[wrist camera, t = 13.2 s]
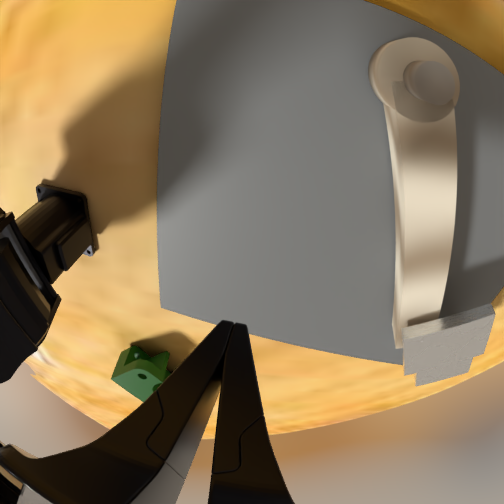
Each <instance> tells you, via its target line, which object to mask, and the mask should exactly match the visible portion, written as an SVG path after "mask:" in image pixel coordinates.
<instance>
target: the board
mask: <svg viewBox="0 0 504 504" xmlns="http://www.w3.org/2000/svg"><path fill="white" fill-rule="evenodd" d="M408 37H417V38H422V39H426V40H428V41H431V42H433V43H434V44H436V45H437V46H439V47H440V48H441V49H442V50H444V51H445V52H446V54H447V55H448V56H449V57H450V59H451V60H452V62H453V63H454V65H455V67H456V70H457V73H458V76H459V82H460V93H459V98H458V101H457V103H456V106H455V107H454V112H455V123H456V139H457V197H456V213H455V225H454V235H453V243H452V251H451V258H450V264H449V270H448V276H447V282H446V287H445V292H444V297H443V301H442V306H441V310H440V314H439V318H438V319H440V318H444V317H447V316H451V315H454V314H458V313H461V312H464V311H468V310H471V309H474V308H477V307H480V306H483V305H486V304H489V303H491V302H492V301H493V300H494V298H495V297H496V296H497V295H498V293H499V292H500V291H501V289H502V288H503V287H504V75H503V74H502V73H501V72H499V71H498V70H497V69H495V68H494V67H493V66H491V65H490V64H488V63H487V62H486V61H484V60H483V59H481V58H480V57H478V56H477V55H475V54H474V53H472V52H471V51H469V50H468V49H466V48H464V47H463V46H461V45H459V44H458V43H456V42H454V41H453V40H451V39H449V38H447V37H446V36H444V35H442V34H440V33H438V32H436V31H434V30H433V29H431V28H429V27H427V26H425V25H423V24H421V23H418V22H416V21H414V20H412V19H410V18H408V17H405V16H403V15H401V14H398V13H396V12H394V11H391V10H389V9H386V8H383V7H381V6H378V5H375V4H373V3H370V2H367V1H364V0H177V1H176V6H175V11H174V17H173V22H172V28H171V34H170V40H169V46H168V53H167V61H166V68H165V76H164V85H163V95H162V105H161V117H160V131H159V148H158V173H157V245H158V270H159V288H160V302H161V308H164V309H167V310H170V311H173V312H176V313H179V314H182V315H186V316H189V317H192V318H195V319H199V320H202V321H205V322H209V323H212V324H216V325H217V324H218V323H219V322H220V321H221V320H228V321H232V322H234V323H236V322H238V323H243V324H246V325H247V327H248V333H249V334H252V335H256V336H260V337H264V338H268V339H272V340H276V341H280V342H284V343H288V344H293V345H297V346H302V347H306V348H311V349H315V350H320V351H325V352H330V353H335V354H340V355H345V356H351V357H356V358H362V359H367V360H373V361H379V362H386V363H392V364H399V365H403V349H402V348H398V349H396V347H395V340H394V334H393V327H392V318H393V305H394V289H395V261H396V230H395V202H394V186H393V174H392V163H391V154H390V145H389V137H388V130H387V124H386V117H385V111H384V105H383V103H382V102H381V101H380V100H379V98H378V97H377V96H376V94H375V93H374V91H373V89H372V87H371V85H370V82H369V77H368V65H369V61H370V59H371V56H372V55H373V53H374V52H375V51H376V49H378V48H379V47H380V46H381V45H383V44H385V43H388V42H391V41H395V40H399V39H403V38H408Z"/></svg>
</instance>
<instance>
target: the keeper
mask: <svg viewBox="0 0 504 504" xmlns="http://www.w3.org/2000/svg"><path fill="white" fill-rule="evenodd" d="M494 317H495V311H494V309H493V307H492V305H491V303H489V304H486V305H483V306H480V307H477V308H474V309H471V310H468V311H464V312H461V313H458V314H454V315H451V316H447V317H444V318H440V319H436V320H433V321H429V322H425V323H421V324H417V325H413V326H409V327H405V328H401V332H402V349H403V368H404V376H405V375H409V374H414V378H415V386H419V385H424V384H428V383H432V382H436V381H440V380H443V379H447V378H450V377H454V376H457V375H461V374H464V373H467V372H468V371H469V368H470V365H471V362H472V359H473V357H475V356H478V355H481V354H484V351H485V348H486V345H487V341H488V338H489V335H490V332H491V328H492V325H493V321H494Z"/></svg>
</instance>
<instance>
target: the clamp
mask: <svg viewBox="0 0 504 504" xmlns="http://www.w3.org/2000/svg"><path fill="white" fill-rule="evenodd" d="M169 355H170V353H168V352H167V351H165V352H162V353H160V354H158V355H156V356H154V357H152V358H151V357H150V356H149V355H147V354H146V353H145V352H144V351H143V350H141V349H140V348H139V347H138V346H132V347H130V348H128V349H126V350H124V351H122V352H121V354H120V356H119V359H118V362H117V364H116V367H115V369H114V372H113V375H112V377H111V379H112V380H113V381H114V382H116V383H117V384H118V385H120V386H121V387H122V388H124V389H125V390H127V391H128V392H129V393H131V394H132V395H134V396H135V397H137V398H138V399H140V400H141V401H143V402H144V401H145V400H146V399H147V398H148V397H149V396H150V395H151V394H152V393H153V392H154V391H155V390H157V388H158V387H159V386H160V385H161V384H162V383H163V382H164V381H165V380H166V379H167V378H168V377H169V376H170V375H171V374H172V373H170V372H169V371H168V370H166V368H167V363H168V359H169Z"/></svg>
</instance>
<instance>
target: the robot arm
mask: <svg viewBox="0 0 504 504" xmlns="http://www.w3.org/2000/svg"><path fill="white" fill-rule="evenodd" d="M36 192H37V197H38V202H37V203H36V204H35V205H33V206H32V207H31V208H30V209H28V210H27V211H26V212H25V213H23V214H22V215H21V216H20V217H19V218H17V219H16V220H15V219H14V218H15V216H14V214H13V212H9V213H5V211H3V210H2V209H1V208H0V383H3V382H5V381H7V380H9V379H10V378H11V377H12V376H13V374H14V373H15V371H16V370H17V368H18V367H19V366H20V365H21V363H22V362H23V361H24V360H25V359H26V358H27V357H29V356H30V355H31V354H33V353H34V352H36V351H37V350H38V347H39V346H40V344H41V343H42V342H43V341H44V339H45V337H46V335H47V333H48V330H49V328H50V325H51V323H52V320H53V318H54V316H55V313H56V311H57V309H58V306H59V304H60V302H61V298H60V296H59V294H57V293H56V292H55V290H54V289H53V287H52V285H51V284H53V283H54V282H55V281H56V279H57V278H58V277H59V276H60V275H61V274H62V272H63V271H68V270H69V268H70V267H71V266H72V265H73V264H74V263H75V262H76V261H77V259H78V258H79V257H80V256H81V255H82V254H85V255H88V256H93V254H94V253H95V248H94V243H93V238H92V232H91V226H90V220H89V214H88V207H87V199H86V197H85V195H84V194H82V193H79V192H74V191H70V190H66V189H61V188H57V187H53V186H48V185H44V184H39V185H38V186H37V187H36ZM219 391H220V398H219V407H218V416H217V425H216V434H215V443H214V454H213V464H212V475H211V482H210V492H209V498H208V504H295V503H294V502H293V500H292V498H291V496H290V494H289V491H288V489H287V487H286V484H285V482H284V479H283V476H282V474H281V471H280V469H279V466H278V463H277V461H276V458H275V456H274V452H273V449H272V446H271V443H270V440H269V435H268V431H267V427H266V422H265V417H264V416H263V415H264V412H263V407H262V402H261V397H260V392H259V387H258V381H257V376H256V371H255V365H254V360H253V355H252V349H251V344H250V338H249V333H248V327H247V325H246V324H243V323H238V322H236V323H234V322H232V321H228V320H221V321H220V322H219V323H218V324H217V325H216V327H215V328H214V329H213V330H212V331H211V332H210V333H209V334H208V335H207V336H206V337H205V338H204V340H203V341H202V342H201V343H200V344H199V345H198V346H197V347H196V348H195V349H194V350H193V351H192V352H191V353H190V354H189V356H188V357H187V358H186V359H185V360H184V361H183V362H182V363H181V364H180V365H179V366H178V367H177V368H176V369H175V370H174V371H173V373H172V374H171V375H170V376H169V377H168V378H167V379H166V380H165V381H164V382H163V383H162V384H161V385H160V386H159V387H158V388H157V390H155V391H154V392H153V393H152V394H151V395H150V396H149V397H148V398H147V399H146V400H145V401H144V402H143V403H142V404H141V405H140V406H139V407H138V408H137V409H136V410H135V411H133V412H132V413H131V414H130V415H129V416H127V417H126V418H125V419H124V420H122V421H121V422H120V423H118V424H117V425H116V426H114V427H113V428H112V429H110V430H109V431H108V432H107V433H105V434H104V435H103V436H101V437H100V438H98V439H97V440H95V441H93V442H92V443H90V444H88V445H85V446H82V447H79V448H76V449H73V450H69V451H66V452H62V453H59V454H55V455H51V456H48V457H44V458H37V457H35V456H33V455H31V454H29V453H27V452H26V451H24V450H22V449H20V448H19V447H17V446H15V445H13V444H8V445H5V444H3V443H2V442H1V441H0V504H175V503H176V501H177V499H178V496H179V494H180V491H181V489H182V486H183V484H184V481H185V480H184V479H186V476H187V474H188V471H189V469H190V466H191V463H192V461H193V459H194V456H195V453H196V451H197V448H198V446H199V443H200V441H201V438H202V436H203V433H204V431H205V428H206V425H207V423H208V420H209V418H210V415H211V412H212V410H213V407H214V405H215V402H216V399H217V397H218V394H219Z"/></svg>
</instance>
